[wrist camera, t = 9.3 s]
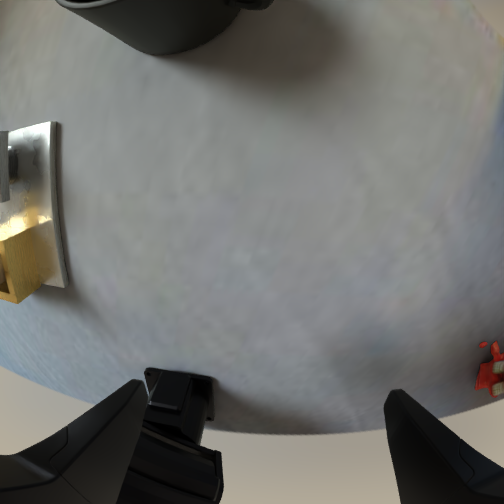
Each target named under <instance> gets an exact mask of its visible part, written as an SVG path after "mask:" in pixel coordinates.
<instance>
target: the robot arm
mask: <svg viewBox="0 0 504 504" xmlns="http://www.w3.org/2000/svg"><path fill="white" fill-rule="evenodd" d="M144 375H145V379H146V383H147V387H148V391H149V397H148V394H147V391H146V388H145V384H144V382H143V381H142V380H137V379H132V380H130V381H129V382H127V383H126V384H125V385H123V386H122V387H121V388H119V389H118V390H116V391H115V392H114V393H112V394H111V395H109V396H108V397H107V398H105V399H104V400H102V401H101V402H100V403H98V404H97V405H95V406H94V407H93V408H91V409H90V410H88V411H87V412H85V413H84V414H83V415H81V416H80V417H78V418H77V419H75V420H74V421H73V422H71V423H70V424H68V425H67V426H66V427H64V428H62V429H61V430H59V431H58V432H56V433H55V434H53V435H52V436H50V437H48V438H46V439H44V440H43V441H41V442H39V443H37V444H35V445H33V446H31V447H29V448H27V449H25V450H23V451H21V452H18V453H16V454H12V455H0V504H219V503H220V500H221V498H222V493H223V488H224V483H223V469H222V456H221V452H220V451H217V450H214V451H213V450H211V449H208V448H206V447H203V446H200V443H201V439H202V434H203V429H204V425H205V421H213V420H214V417H215V416H214V395H213V380H212V379H211V378H210V377H206V376H198V375H191V374H184V373H177V372H171V371H165V370H159V369H153V368H146V369H145V371H144ZM384 415H385V423H386V431H387V439H388V444H389V449H390V453H391V458H392V462H393V467H394V471H395V476H396V480H397V486H398V491H399V496H400V502H401V504H504V468H503V467H501V466H499V465H498V464H496V463H495V462H493V461H491V460H490V459H488V458H487V457H485V456H484V455H482V454H481V453H479V452H478V451H476V450H475V449H474V448H472V447H471V446H470V445H468V444H467V443H466V442H465V441H464V440H462V439H460V437H458V436H457V435H456V434H455V433H454V432H453V431H451V430H450V429H449V428H448V427H446V426H445V425H444V424H443V423H442V422H441V421H439V420H438V419H437V418H436V417H435V416H433V415H432V414H431V413H430V412H429V411H427V410H426V409H425V408H424V407H423V406H421V405H420V404H419V403H418V402H417V401H415V400H414V399H413V398H412V397H411V396H410V395H408V394H407V393H406V392H405V391H404V390H402V389H394V390H391V391H390V393H389V395H388V397H387V399H386V401H385V404H384Z"/></svg>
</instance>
